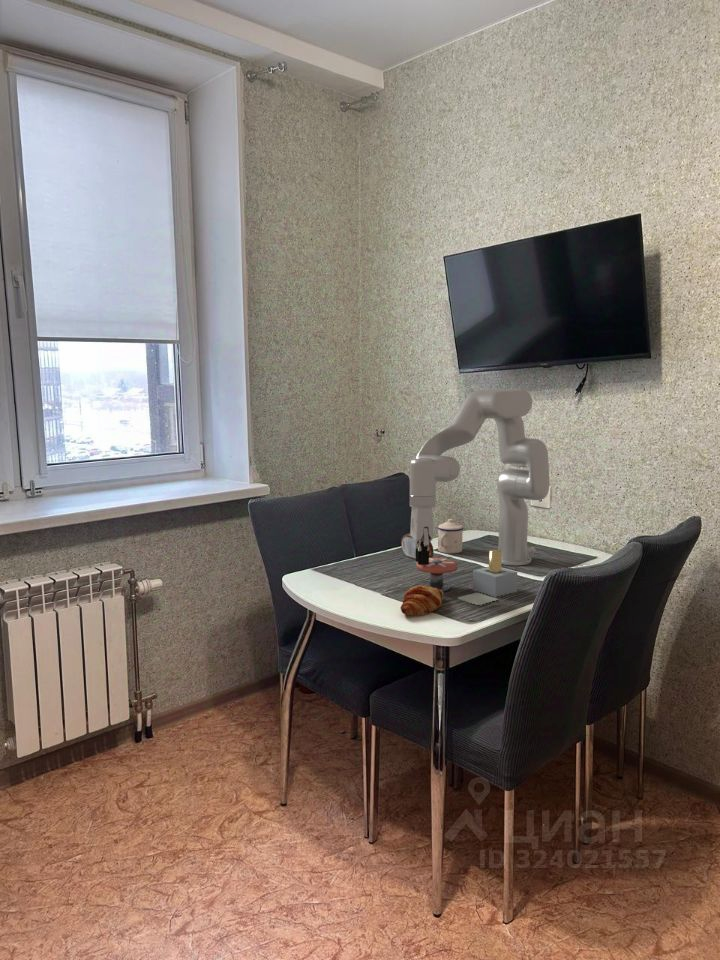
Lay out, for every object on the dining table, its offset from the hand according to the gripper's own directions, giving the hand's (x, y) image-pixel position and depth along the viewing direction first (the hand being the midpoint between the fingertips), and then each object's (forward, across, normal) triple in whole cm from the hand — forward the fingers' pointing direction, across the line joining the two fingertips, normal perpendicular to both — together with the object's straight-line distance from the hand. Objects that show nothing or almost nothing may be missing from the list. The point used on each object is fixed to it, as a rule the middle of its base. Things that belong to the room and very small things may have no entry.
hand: (422, 562), depth 207 cm
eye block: (+8, +3, +21) cm, 23 cm away
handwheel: (+2, -1, +5) cm, 5 cm away
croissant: (+9, +16, -3) cm, 19 cm away
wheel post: (+8, -1, +5) cm, 10 cm away
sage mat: (+8, +11, +14) cm, 20 cm away
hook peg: (+9, +3, +21) cm, 23 cm away
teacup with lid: (+9, -45, +19) cm, 50 cm away
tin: (+9, -36, +6) cm, 38 cm away
